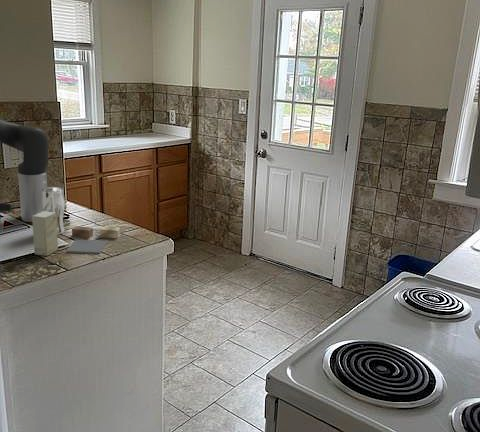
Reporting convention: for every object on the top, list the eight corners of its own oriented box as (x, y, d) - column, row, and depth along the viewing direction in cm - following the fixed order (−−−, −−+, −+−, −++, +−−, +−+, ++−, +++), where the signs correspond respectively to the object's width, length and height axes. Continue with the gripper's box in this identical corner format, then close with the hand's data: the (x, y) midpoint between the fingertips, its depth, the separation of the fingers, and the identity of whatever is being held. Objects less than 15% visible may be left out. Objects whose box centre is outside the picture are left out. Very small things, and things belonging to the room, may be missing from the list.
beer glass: (55, 227, 169) (53, 185, 164) (70, 231, 166) (68, 188, 162) (39, 232, 163) (36, 189, 158) (54, 236, 160) (52, 193, 156)
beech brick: (100, 237, 162) (100, 229, 162) (103, 234, 165) (102, 226, 164) (117, 239, 162) (117, 230, 161) (120, 236, 165) (120, 227, 164)
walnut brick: (72, 237, 161) (71, 228, 160) (76, 234, 164) (75, 226, 163) (89, 239, 161) (89, 230, 160) (93, 236, 163) (92, 227, 163)
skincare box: (47, 256, 144) (44, 217, 140) (33, 254, 145) (31, 216, 141) (58, 249, 150) (56, 211, 146) (45, 247, 151) (43, 210, 147)
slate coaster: (75, 241, 157) (75, 239, 157) (106, 242, 158) (106, 240, 158) (66, 252, 148) (66, 250, 148) (99, 253, 149) (99, 252, 148)
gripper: (-67, 202, 134) (-7, 205, 135) (-41, 190, 148) (14, 193, 149) (-64, 227, 136) (-5, 230, 137) (-39, 213, 150) (15, 216, 151)
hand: (5, 211), depth 143 cm, fingers open, 8 cm apart
